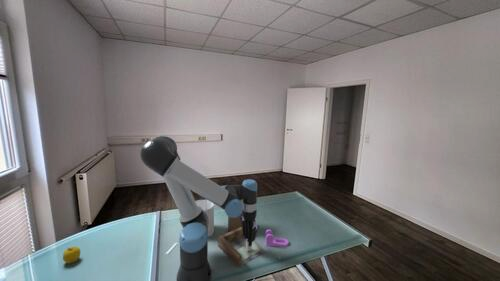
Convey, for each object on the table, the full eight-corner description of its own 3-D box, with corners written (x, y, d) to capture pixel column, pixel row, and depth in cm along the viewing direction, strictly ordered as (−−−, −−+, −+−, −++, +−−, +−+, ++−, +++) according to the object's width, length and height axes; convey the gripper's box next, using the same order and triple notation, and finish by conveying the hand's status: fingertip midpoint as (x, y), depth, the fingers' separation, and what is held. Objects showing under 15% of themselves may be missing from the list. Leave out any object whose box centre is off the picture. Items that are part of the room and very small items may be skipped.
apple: (61, 263, 94) (59, 248, 92) (78, 255, 99) (77, 241, 98) (65, 269, 90) (63, 253, 89) (83, 260, 95) (81, 246, 94)
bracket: (266, 246, 110) (266, 235, 109) (265, 240, 115) (266, 229, 114) (289, 247, 110) (289, 235, 109) (287, 240, 115) (288, 229, 114)
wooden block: (243, 235, 119) (243, 204, 116) (227, 232, 121) (227, 202, 118) (246, 225, 129) (247, 197, 126) (232, 223, 131) (232, 195, 128)
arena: (238, 268, 94) (238, 257, 93) (218, 246, 108) (218, 236, 107) (266, 251, 105) (266, 241, 105) (245, 234, 120) (245, 225, 119)
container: (188, 228, 124) (187, 202, 122) (210, 223, 131) (210, 197, 128) (193, 242, 112) (192, 212, 109) (217, 235, 118) (217, 207, 116)
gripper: (263, 212, 99) (261, 253, 102) (247, 202, 109) (246, 240, 112) (251, 216, 94) (250, 260, 98) (236, 206, 104) (235, 246, 108)
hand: (248, 250), depth 105 cm, fingers closed, pressing on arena
